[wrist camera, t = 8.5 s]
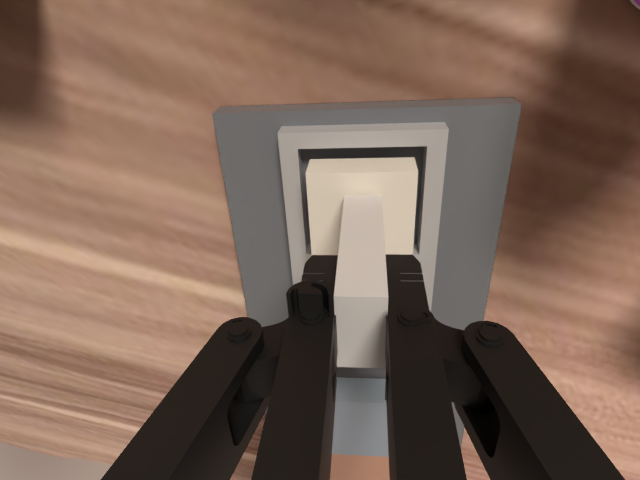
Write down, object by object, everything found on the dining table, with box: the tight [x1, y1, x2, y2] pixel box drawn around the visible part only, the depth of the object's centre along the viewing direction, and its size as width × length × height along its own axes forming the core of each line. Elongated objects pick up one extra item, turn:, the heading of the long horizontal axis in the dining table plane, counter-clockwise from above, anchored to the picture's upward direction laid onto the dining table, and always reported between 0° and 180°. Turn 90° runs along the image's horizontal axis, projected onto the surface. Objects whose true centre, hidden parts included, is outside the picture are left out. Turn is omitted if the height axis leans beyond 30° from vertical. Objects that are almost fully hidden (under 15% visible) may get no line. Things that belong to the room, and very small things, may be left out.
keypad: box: [212, 97, 522, 448], centre depth 25 cm, size 13×26×2 cm, turn 3°
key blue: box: [332, 377, 389, 457], centre depth 24 cm, size 4×4×2 cm
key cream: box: [306, 157, 418, 255], centre depth 19 cm, size 4×4×2 cm
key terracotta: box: [330, 454, 390, 480], centre depth 28 cm, size 4×4×2 cm
